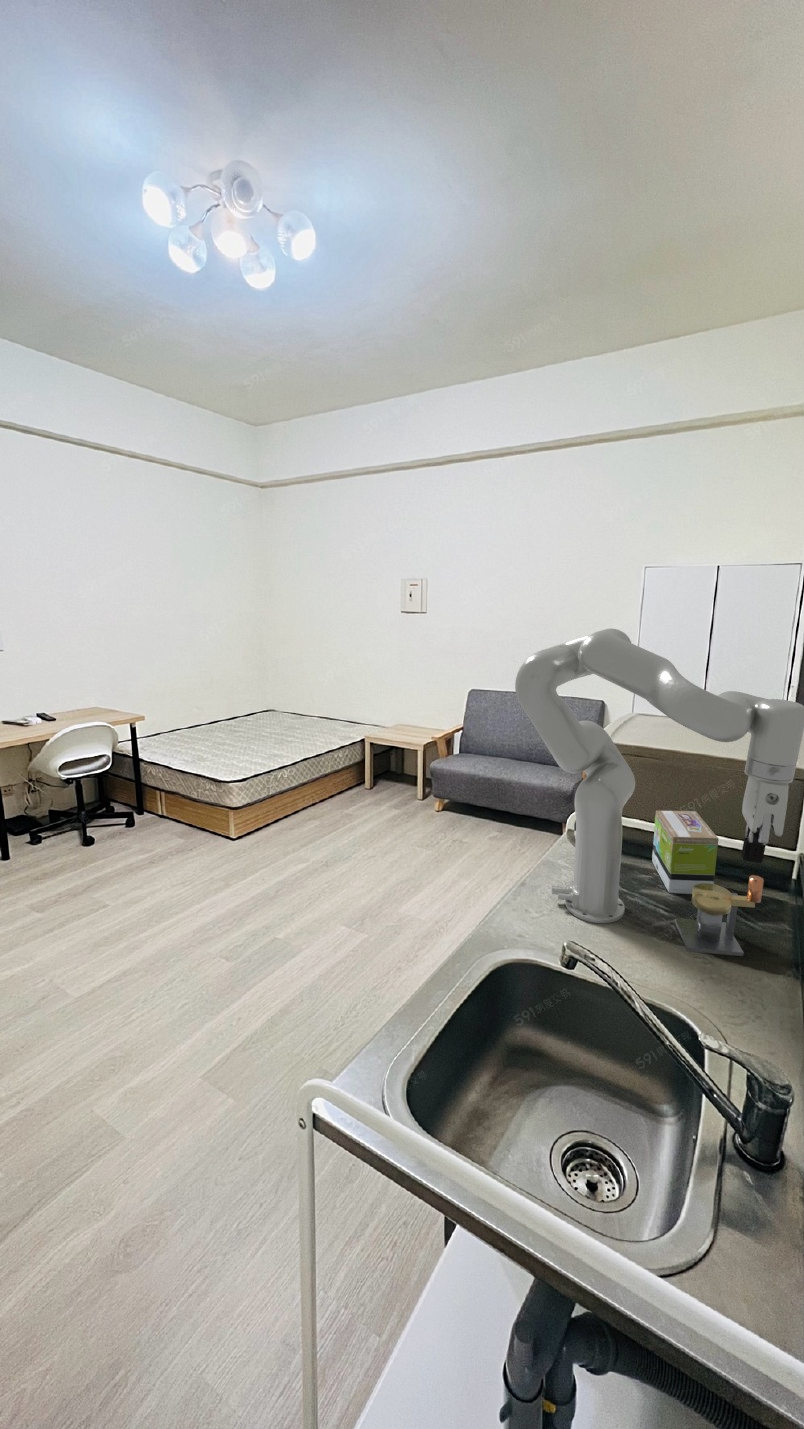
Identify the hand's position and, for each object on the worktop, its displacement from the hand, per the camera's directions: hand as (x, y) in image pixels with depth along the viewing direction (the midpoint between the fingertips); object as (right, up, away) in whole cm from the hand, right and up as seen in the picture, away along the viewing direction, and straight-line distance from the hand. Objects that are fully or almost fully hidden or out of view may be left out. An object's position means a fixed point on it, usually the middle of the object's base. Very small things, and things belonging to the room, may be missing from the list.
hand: (751, 859), depth 109 cm
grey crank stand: (-4, -18, +9) cm, 21 cm away
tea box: (+2, -13, +32) cm, 34 cm away
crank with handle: (-1, -11, +7) cm, 13 cm away
